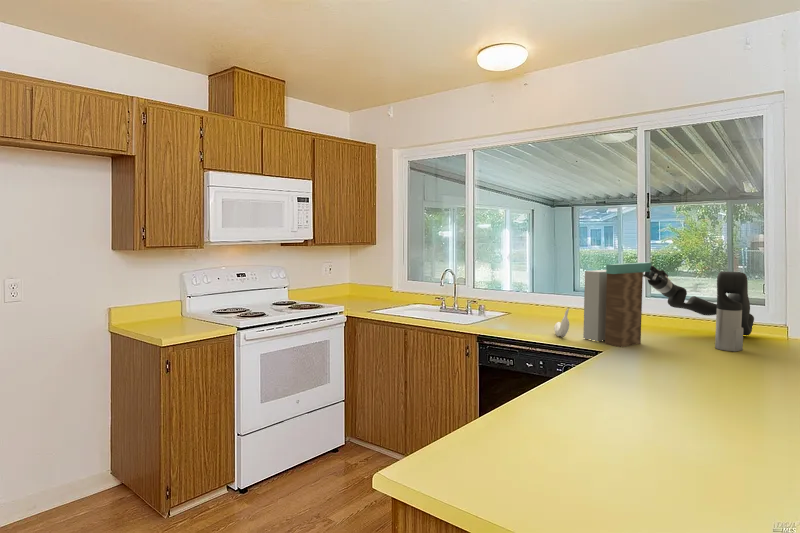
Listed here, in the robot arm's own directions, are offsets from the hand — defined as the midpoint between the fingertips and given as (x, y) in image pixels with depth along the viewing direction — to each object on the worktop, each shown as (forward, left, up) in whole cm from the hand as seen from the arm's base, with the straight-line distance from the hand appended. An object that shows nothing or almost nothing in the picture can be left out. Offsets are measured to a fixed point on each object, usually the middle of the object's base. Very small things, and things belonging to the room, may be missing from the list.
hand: (642, 266), depth 240 cm
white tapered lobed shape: (+26, +23, -34) cm, 49 cm away
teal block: (0, +9, -2) cm, 10 cm away
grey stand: (+12, +12, -34) cm, 38 cm away
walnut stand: (0, +12, -34) cm, 36 cm away
